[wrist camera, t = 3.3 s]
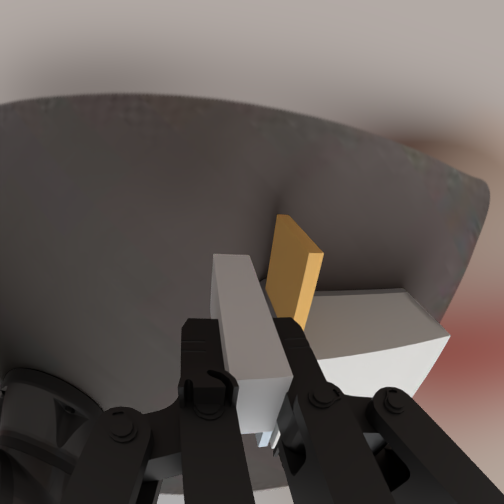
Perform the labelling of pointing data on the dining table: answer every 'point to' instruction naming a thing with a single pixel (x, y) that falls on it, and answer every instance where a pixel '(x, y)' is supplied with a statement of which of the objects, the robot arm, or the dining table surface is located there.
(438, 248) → the dining table surface
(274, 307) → the door
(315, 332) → the case
